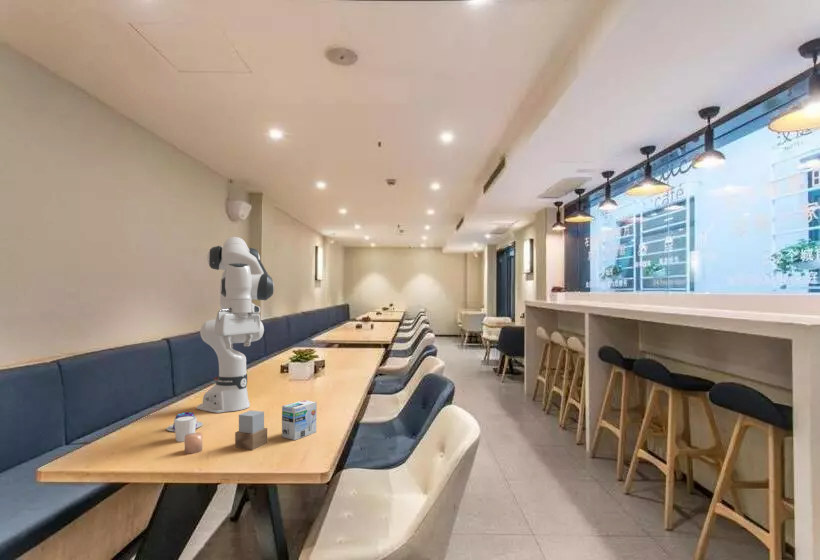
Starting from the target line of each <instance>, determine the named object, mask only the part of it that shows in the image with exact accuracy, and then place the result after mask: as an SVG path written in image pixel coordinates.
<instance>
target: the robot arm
mask: <svg viewBox="0 0 820 560" xmlns="http://www.w3.org/2000/svg"><path fill="white" fill-rule="evenodd" d="M206 256H207V257H206V260H207V263H208V266H209V268H211V269H213V270H217V271H219V270H223V272H222V276H221V278H220V279H221V280H220V285H219V286H220V287H219V289H220V290H219V307H220V309H219V310H218V311H217V314H216V317H215V318H213V319H210V320H205V321H204V322H203V324H202V325H201V327H200V332H199V333H200V338H201V339H202V341H203V342H204V343H206V345H208V346H210V347H211V348H212V349H213V350H214V352H215V354H216V356H217V360H218V376H217V377H214V381H216V382H215V384H214V385H213V386H212V387H211V388H210V389H208V390H207V391H206V392H205V393H204V394H203V397H202V403H200V404H198V405H196V409H197V410H201V411H204V412H210V413H214V414H219V413H220V414H221V413H227V412H235V411H241V410H245V409H248V408H249V407H250V406H251V404H250V401H249V394H248V386H247V385H248V373H247V357H246V355H245V354H244V353H242V352H241V351H238V350H236V349H234V344H243V347H251V343H252V342H256V341H259V340H261V338H263V335H264V332H265V327H264V323H263V321H261V315H260V313H261V307H260V306H259V305H256V304H255V303H253V302H252V301H254V300H257V301H267V300H269V299H270V298H271V297H272V296H273V295H274V291H275V290H274V289H275V284H274V281H273V278H272V277H271V276H270V275H269V273H268V272H267V270H266V268H265V266H264V265H263V263H262V261H261V257H260V254H259V251H258V249H256V248H253V247H248V245H247V243H246V241H245V240H244V239H243V238H242V237H238V236H232V237H228V238H227V239H226V240H225V241H224V243H223V245H221V246H220V245H217V246H212V247H211V248H210V249H209V251H208V252H207V255H206Z"/></svg>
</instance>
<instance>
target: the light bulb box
mask: <svg viewBox="0 0 820 560" xmlns="http://www.w3.org/2000/svg"><path fill="white" fill-rule="evenodd" d="M316 433H317V401H311V400H307V399H302V400H299V401H295V402H292V403H288V404H285V405H282V406H281V437H282V438H285V439H289V440H293V441H296V440H299V439H301V438H304V437H307V436H310V435H313V434H316Z"/></svg>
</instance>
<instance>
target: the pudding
mask: <svg viewBox="0 0 820 560" xmlns="http://www.w3.org/2000/svg"><path fill="white" fill-rule="evenodd" d="M184 416H195V414H194V413H193V412H191V411H190V412H189V411H187V412H182V413H181V412H180V413H178V414H176V415H175V418H174V420H175V419H176V418H179V417H184ZM203 425H204V424H203V422H201V421H197V420H196V428H195V429H198V428H200V427H202V426H203ZM166 430H167V431H169V432H175V425H174V423H173V424H171V425H168V426H167V427H166Z"/></svg>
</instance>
